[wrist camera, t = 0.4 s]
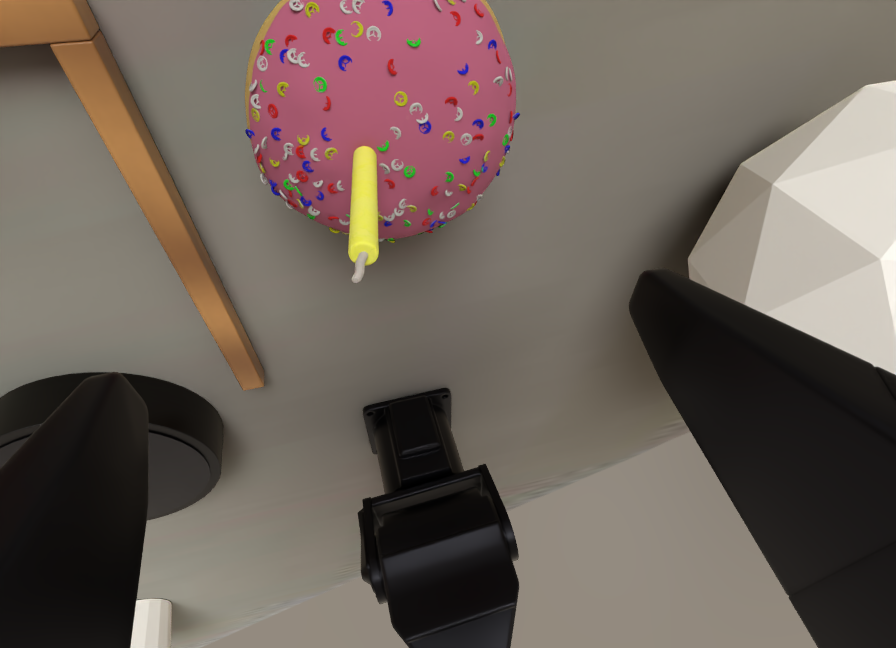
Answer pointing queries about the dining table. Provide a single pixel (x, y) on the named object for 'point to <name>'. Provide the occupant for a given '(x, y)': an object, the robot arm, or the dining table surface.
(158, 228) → the pan rest
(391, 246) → the dining table surface
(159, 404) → the pan
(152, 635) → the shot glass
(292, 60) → the cupcake
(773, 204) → the geometric orb
